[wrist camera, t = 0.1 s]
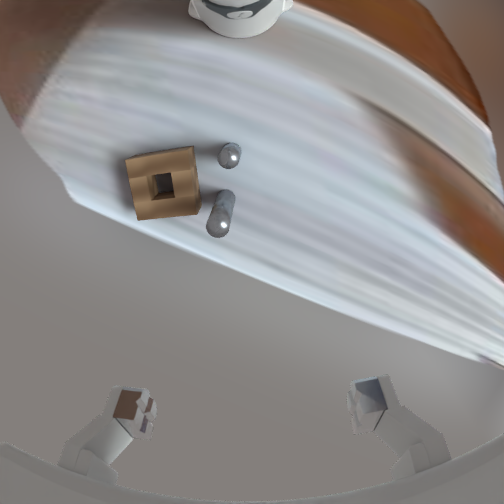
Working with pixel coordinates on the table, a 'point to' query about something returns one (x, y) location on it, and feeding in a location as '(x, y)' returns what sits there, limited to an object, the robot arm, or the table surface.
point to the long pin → (221, 214)
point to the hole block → (146, 187)
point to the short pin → (229, 155)
